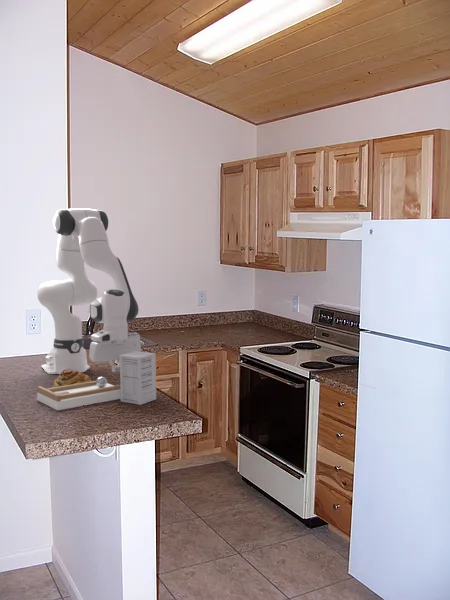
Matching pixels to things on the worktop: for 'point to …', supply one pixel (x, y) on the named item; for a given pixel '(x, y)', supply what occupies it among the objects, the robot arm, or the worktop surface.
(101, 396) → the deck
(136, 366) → the supplement box
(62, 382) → the pastry
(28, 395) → the worktop surface
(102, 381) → the ball
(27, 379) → the worktop surface
